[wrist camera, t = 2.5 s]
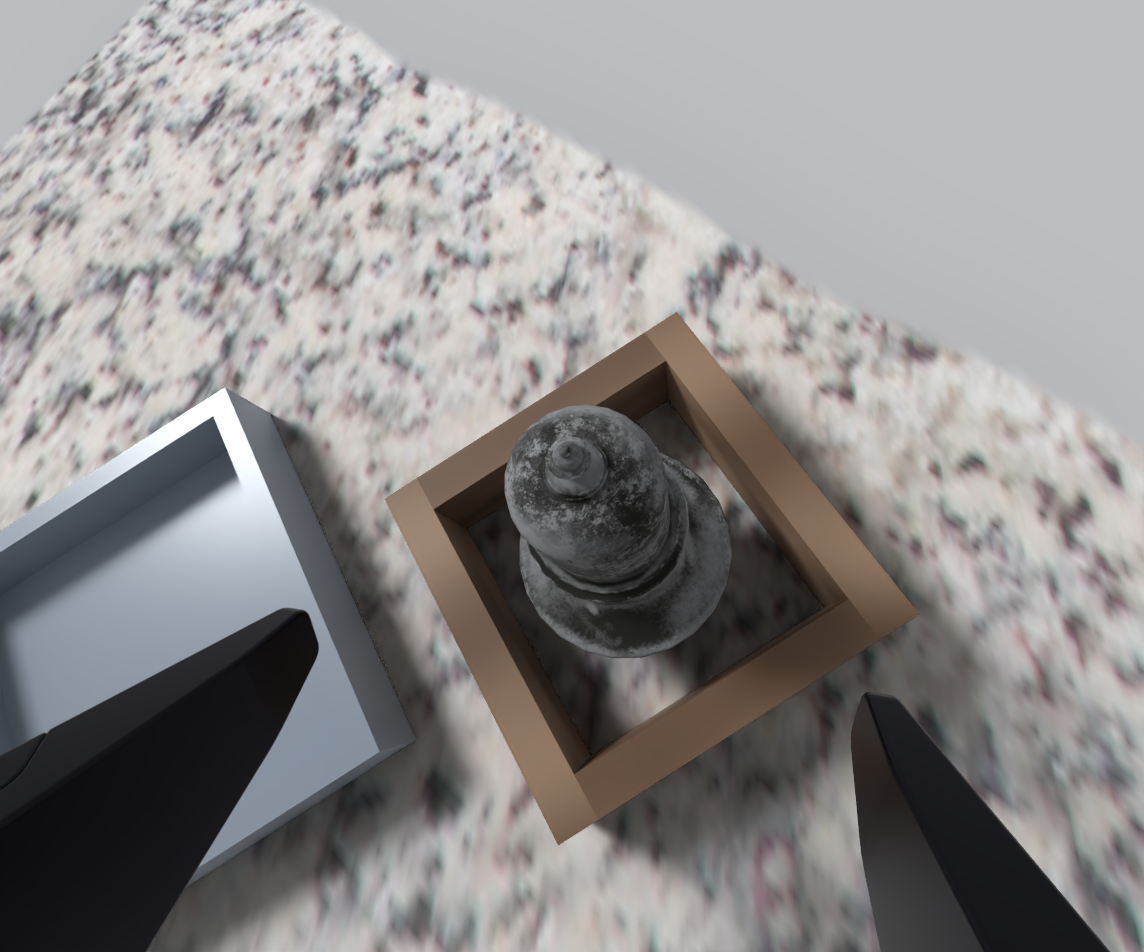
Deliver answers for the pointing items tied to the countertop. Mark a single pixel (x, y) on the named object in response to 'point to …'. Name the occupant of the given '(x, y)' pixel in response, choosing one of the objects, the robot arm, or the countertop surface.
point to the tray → (192, 603)
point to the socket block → (718, 707)
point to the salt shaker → (614, 534)
